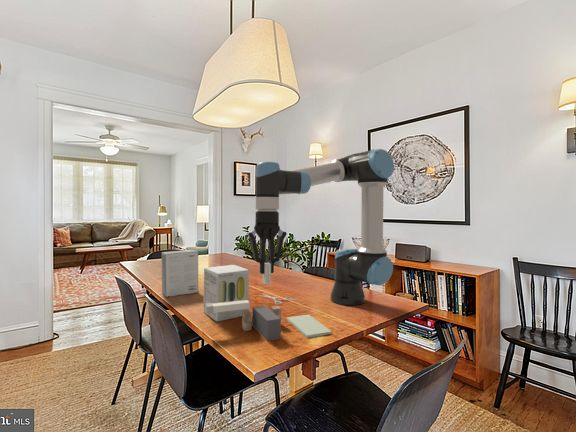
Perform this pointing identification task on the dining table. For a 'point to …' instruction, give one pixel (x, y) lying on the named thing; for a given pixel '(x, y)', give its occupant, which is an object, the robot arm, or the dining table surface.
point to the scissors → (277, 298)
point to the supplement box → (225, 288)
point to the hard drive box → (179, 272)
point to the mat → (308, 326)
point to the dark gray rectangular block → (266, 323)
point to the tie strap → (226, 306)
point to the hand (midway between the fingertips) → (266, 283)
